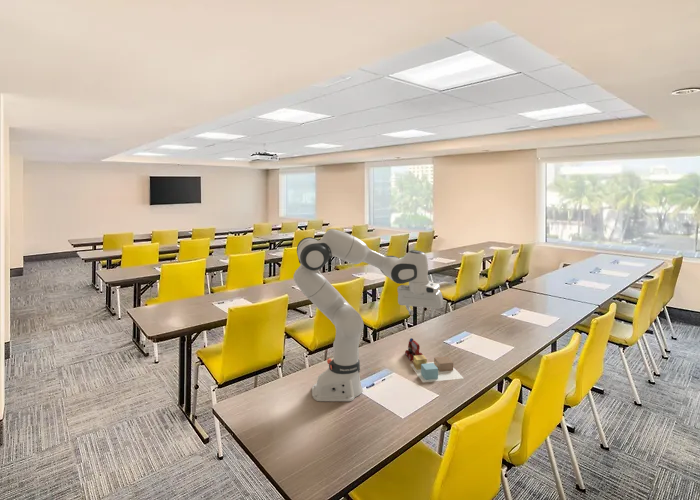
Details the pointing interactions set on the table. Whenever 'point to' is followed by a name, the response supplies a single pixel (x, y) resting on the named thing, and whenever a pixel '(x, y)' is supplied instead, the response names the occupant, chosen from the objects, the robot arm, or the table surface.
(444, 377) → the board
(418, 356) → the ochre block
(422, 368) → the teal block
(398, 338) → the table surface
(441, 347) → the table surface
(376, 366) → the table surface
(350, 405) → the table surface
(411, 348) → the toy fire truck
